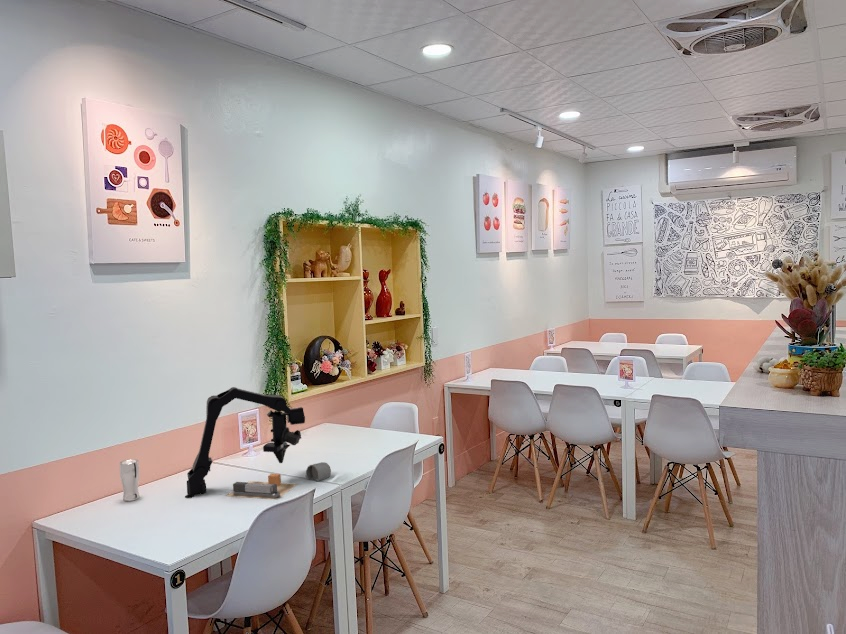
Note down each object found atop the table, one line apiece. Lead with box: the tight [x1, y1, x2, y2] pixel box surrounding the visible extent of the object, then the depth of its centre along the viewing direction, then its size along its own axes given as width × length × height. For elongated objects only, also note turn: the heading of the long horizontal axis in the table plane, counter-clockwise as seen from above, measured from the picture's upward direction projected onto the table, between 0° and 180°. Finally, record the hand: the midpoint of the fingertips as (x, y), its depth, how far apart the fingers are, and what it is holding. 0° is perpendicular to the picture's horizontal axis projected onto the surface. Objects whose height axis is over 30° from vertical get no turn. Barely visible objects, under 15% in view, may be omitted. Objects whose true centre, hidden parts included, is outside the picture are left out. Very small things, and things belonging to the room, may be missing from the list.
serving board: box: [226, 480, 298, 501], centre depth 259 cm, size 22×18×1 cm
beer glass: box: [119, 458, 140, 503], centre depth 256 cm, size 7×7×15 cm
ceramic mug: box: [305, 462, 332, 482], centre depth 273 cm, size 11×8×8 cm
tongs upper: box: [232, 481, 273, 493], centre depth 252 cm, size 16×3×3 cm, turn 75°
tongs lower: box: [232, 484, 281, 500], centre depth 252 cm, size 19×4×5 cm, turn 75°
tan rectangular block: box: [267, 473, 282, 486], centre depth 265 cm, size 4×3×4 cm
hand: (281, 463), depth 270 cm, fingers closed
